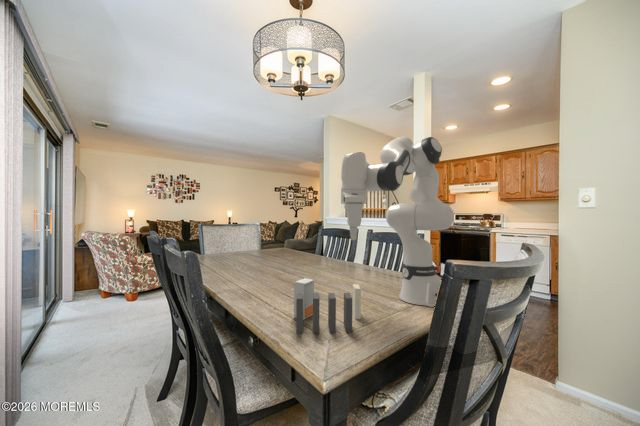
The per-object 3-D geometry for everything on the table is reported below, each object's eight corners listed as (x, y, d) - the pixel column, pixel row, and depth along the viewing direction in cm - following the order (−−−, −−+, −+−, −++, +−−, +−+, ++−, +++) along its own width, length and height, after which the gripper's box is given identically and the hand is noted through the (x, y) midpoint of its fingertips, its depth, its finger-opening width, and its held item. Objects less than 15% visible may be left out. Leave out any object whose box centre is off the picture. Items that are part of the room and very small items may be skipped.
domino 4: (349, 324, 79) (349, 292, 79) (352, 332, 74) (352, 298, 74) (343, 325, 79) (343, 292, 79) (345, 332, 74) (346, 298, 74)
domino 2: (318, 325, 79) (318, 293, 79) (319, 333, 74) (319, 298, 74) (312, 325, 79) (312, 293, 79) (313, 333, 74) (313, 298, 74)
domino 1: (303, 325, 79) (303, 293, 79) (302, 333, 74) (302, 298, 74) (297, 325, 79) (297, 293, 79) (296, 333, 74) (296, 298, 74)
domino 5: (357, 313, 89) (357, 284, 89) (360, 319, 84) (360, 288, 84) (352, 313, 89) (352, 284, 89) (355, 319, 84) (355, 288, 84)
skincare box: (303, 320, 82) (304, 283, 82) (293, 317, 84) (293, 281, 84) (314, 314, 87) (314, 279, 87) (304, 311, 89) (304, 277, 89)
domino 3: (334, 325, 79) (334, 293, 79) (335, 332, 74) (335, 298, 74) (328, 325, 79) (328, 293, 79) (329, 332, 74) (329, 298, 74)
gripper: (344, 200, 99) (343, 235, 99) (344, 196, 79) (344, 241, 79) (360, 200, 99) (360, 236, 99) (365, 196, 78) (364, 241, 78)
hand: (353, 238), depth 88 cm, fingers open, 8 cm apart
